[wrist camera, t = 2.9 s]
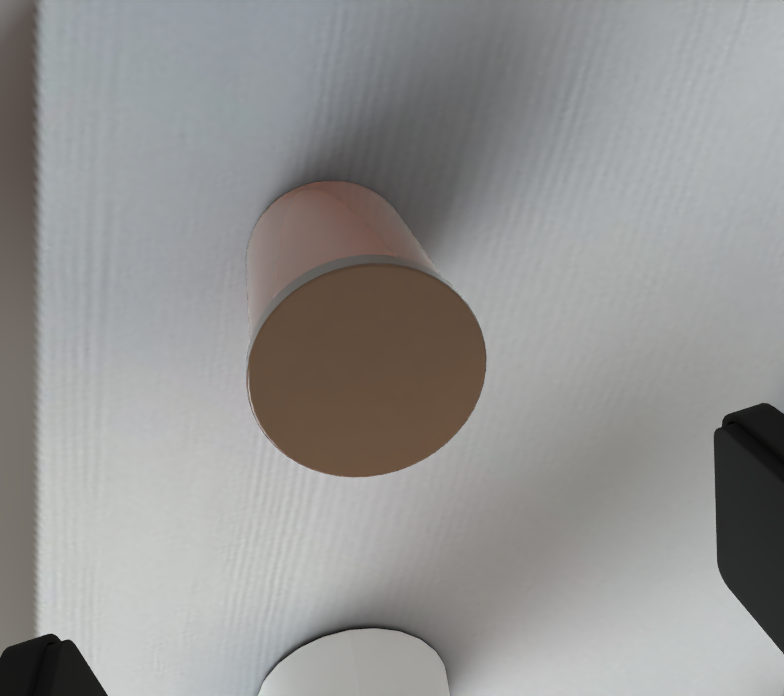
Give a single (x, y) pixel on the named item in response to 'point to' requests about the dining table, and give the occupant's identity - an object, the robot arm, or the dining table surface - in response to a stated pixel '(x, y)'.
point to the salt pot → (354, 335)
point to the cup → (360, 667)
